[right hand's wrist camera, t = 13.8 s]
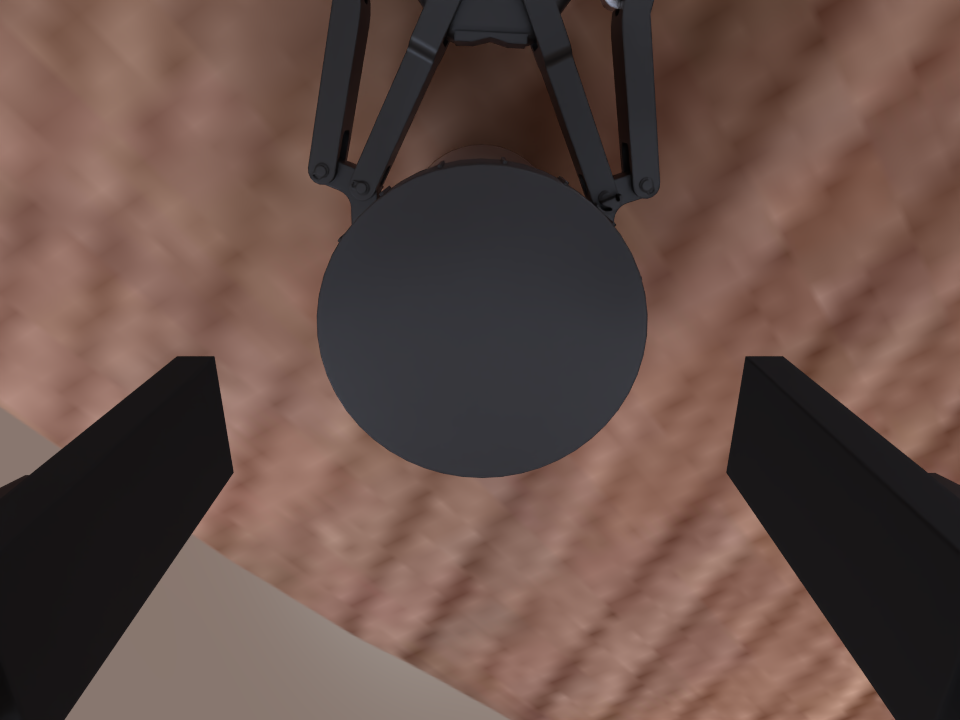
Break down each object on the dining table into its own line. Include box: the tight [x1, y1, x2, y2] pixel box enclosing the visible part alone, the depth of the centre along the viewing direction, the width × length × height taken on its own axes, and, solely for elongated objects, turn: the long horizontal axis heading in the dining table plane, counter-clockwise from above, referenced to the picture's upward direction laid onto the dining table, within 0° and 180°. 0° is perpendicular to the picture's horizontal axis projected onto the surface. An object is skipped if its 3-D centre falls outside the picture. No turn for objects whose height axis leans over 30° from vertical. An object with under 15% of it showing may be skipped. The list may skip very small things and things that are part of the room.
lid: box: [317, 157, 647, 478], centre depth 19 cm, size 10×10×2 cm
